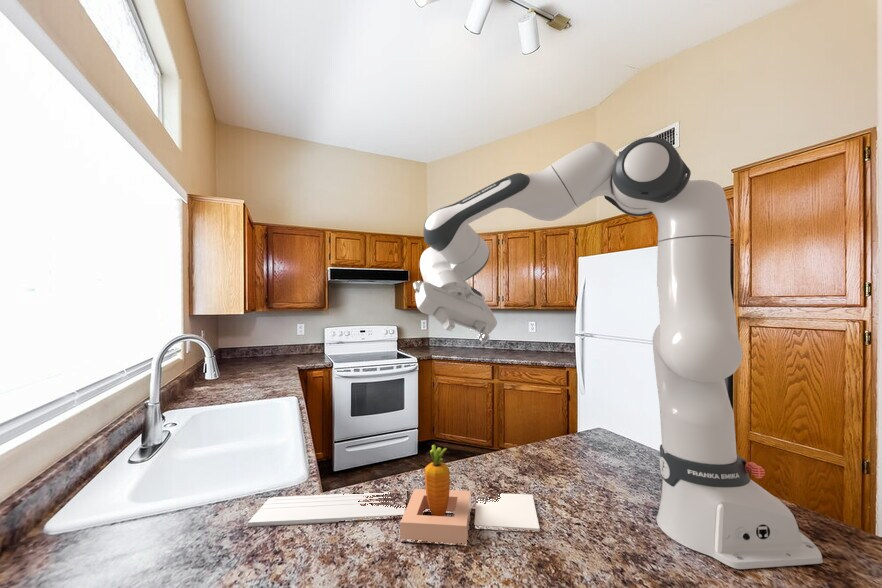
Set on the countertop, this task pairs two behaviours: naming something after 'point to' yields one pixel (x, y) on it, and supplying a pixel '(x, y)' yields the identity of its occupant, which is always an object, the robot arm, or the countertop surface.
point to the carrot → (437, 483)
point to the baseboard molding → (320, 509)
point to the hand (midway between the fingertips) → (468, 334)
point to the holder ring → (437, 519)
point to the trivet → (508, 512)
